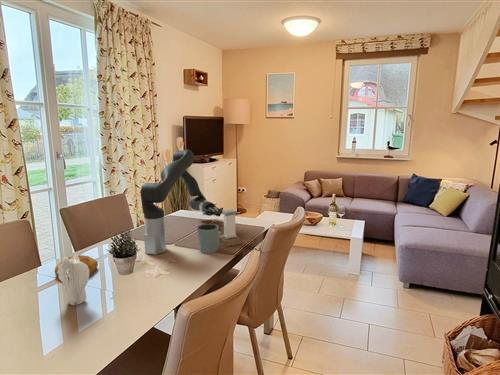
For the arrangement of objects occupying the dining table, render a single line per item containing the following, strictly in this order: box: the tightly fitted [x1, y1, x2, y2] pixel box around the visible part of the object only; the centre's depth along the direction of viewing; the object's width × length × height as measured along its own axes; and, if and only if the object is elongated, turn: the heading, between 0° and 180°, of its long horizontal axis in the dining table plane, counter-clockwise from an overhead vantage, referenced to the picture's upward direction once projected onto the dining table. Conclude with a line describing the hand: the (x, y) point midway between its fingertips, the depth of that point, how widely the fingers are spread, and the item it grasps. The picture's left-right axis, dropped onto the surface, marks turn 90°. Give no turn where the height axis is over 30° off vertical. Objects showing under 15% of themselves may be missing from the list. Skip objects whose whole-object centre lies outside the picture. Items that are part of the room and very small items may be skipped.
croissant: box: [54, 254, 99, 282], centre depth 133 cm, size 14×16×8 cm
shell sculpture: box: [57, 252, 90, 306], centre depth 111 cm, size 8×8×18 cm
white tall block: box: [221, 209, 238, 239], centre depth 165 cm, size 4×6×14 cm, turn 118°
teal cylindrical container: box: [197, 223, 219, 255], centre depth 157 cm, size 10×10×12 cm
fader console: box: [218, 226, 242, 248], centre depth 173 cm, size 22×9×3 cm, turn 28°
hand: (219, 214), depth 175 cm, fingers closed
